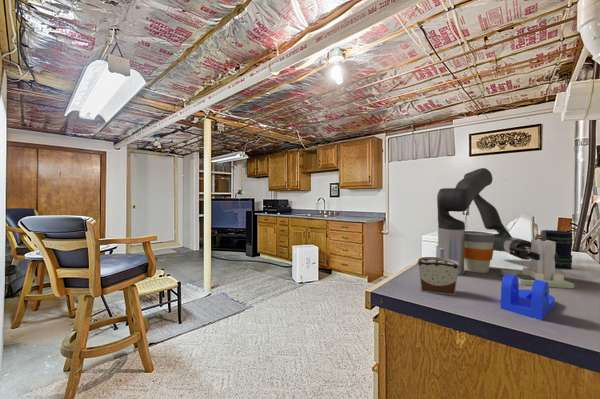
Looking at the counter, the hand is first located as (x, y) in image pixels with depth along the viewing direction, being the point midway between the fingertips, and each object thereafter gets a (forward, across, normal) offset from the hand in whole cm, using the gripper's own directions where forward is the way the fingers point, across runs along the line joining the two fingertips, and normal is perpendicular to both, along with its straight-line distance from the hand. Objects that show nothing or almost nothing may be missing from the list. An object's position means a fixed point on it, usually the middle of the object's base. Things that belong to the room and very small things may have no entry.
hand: (547, 257), depth 91 cm
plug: (-3, 0, +8) cm, 8 cm away
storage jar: (-28, +19, +9) cm, 35 cm away
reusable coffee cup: (-14, -17, +9) cm, 24 cm away
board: (-3, -2, +9) cm, 10 cm away
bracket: (+22, -17, +10) cm, 30 cm away
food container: (+15, -39, +9) cm, 43 cm away
